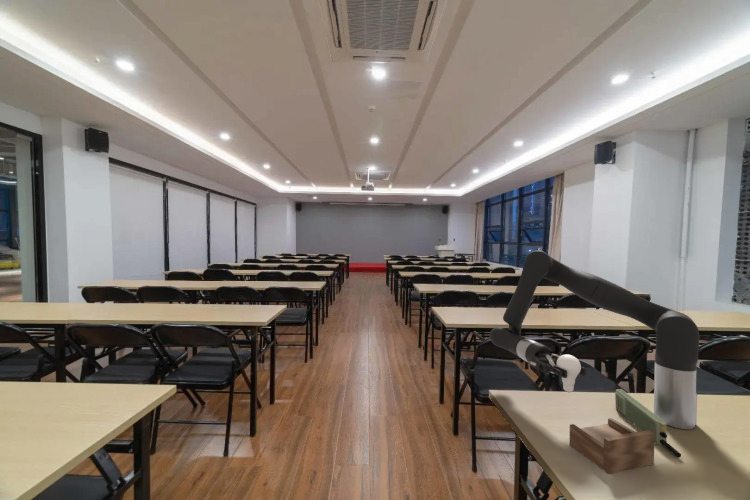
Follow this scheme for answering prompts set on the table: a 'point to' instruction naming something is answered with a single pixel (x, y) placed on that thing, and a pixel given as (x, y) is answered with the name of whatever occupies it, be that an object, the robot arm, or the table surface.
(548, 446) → the table surface
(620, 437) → the stand
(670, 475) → the table surface
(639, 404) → the handheld radio
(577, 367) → the lightbulb
